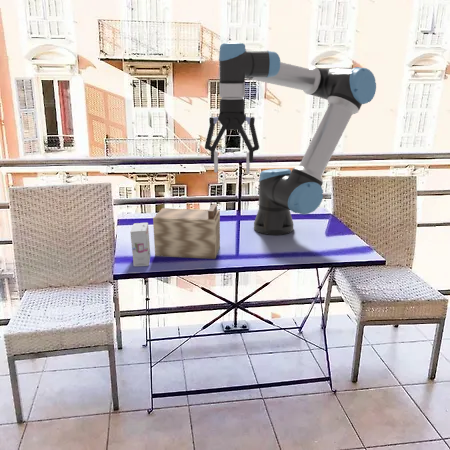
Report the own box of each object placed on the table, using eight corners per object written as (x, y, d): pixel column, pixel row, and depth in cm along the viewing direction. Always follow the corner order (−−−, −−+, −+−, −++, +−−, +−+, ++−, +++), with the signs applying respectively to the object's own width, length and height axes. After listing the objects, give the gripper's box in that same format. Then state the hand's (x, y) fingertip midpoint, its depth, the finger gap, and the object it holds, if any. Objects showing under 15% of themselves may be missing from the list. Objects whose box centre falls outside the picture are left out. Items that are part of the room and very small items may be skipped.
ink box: (135, 256, 151) (133, 222, 148) (150, 255, 152) (148, 221, 148) (132, 266, 143) (130, 230, 140) (148, 266, 144) (146, 230, 140)
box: (219, 246, 160) (219, 210, 155) (215, 258, 149) (214, 220, 145) (163, 244, 162) (161, 208, 158) (155, 255, 152) (153, 217, 147)
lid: (218, 213, 155) (218, 203, 154) (214, 222, 146) (214, 211, 145) (162, 211, 157) (161, 201, 156) (154, 220, 148) (153, 209, 147)
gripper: (269, 97, 140) (267, 170, 147) (198, 97, 143) (199, 168, 150) (268, 99, 133) (266, 175, 140) (193, 98, 136) (195, 173, 143)
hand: (231, 172), depth 145 cm, fingers open, 9 cm apart
